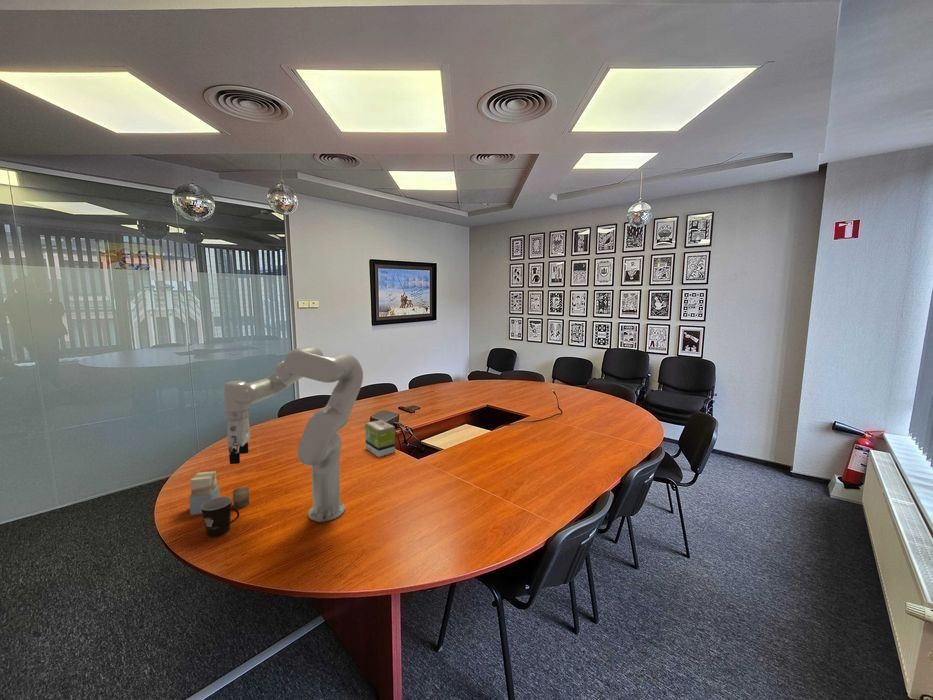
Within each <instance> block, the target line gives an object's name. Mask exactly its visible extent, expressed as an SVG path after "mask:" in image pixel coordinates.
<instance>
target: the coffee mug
mask: <svg viewBox="0 0 933 700" xmlns="http://www.w3.org/2000/svg"><path fill="white" fill-rule="evenodd" d="M232 505H233V498H232V497H229V496H220V497H218V498H214V499H211V500H208V501H206V502H205V503H203V504H202V505H201V510H202V514H201V515H202V518H203V522H204V527H205V532H206V536H207V537H208V538H217V537H220V536H224V535H225V534H227V533H228V532H229V531H230V529H231V524H233V522H236V521H237V520H238V519H239V517H240V512H239V509H237V508H234V507H232ZM232 511H234V512H236V517H235V518H233V520H231V517H232Z"/></svg>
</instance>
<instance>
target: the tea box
mask: <svg viewBox="0 0 933 700" xmlns="http://www.w3.org/2000/svg"><path fill="white" fill-rule="evenodd" d="M364 427H365V428H364V429H365V435H364V436H365V449H366V450H367V451H369V452H370V453H372V454H373V455H374V456H376V457H377V458H381V456H382V457H385V456H384V455H386V456H388V455H387V454H389V455H391V454H390V453H392V454H394V453H393V452H395V453H396V430H395V429H396V427H395V425H393V424H390V423H388V422H386V420H383V419H379V420H374V421H373V420H372V421H370V422H366V423H364Z"/></svg>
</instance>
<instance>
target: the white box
mask: <svg viewBox="0 0 933 700" xmlns="http://www.w3.org/2000/svg"><path fill="white" fill-rule="evenodd" d="M218 497H221V496H220V486H219V485H217V487H216V488H215V489H214V490H213V492H212V493H211V494H205V495H195V496H192V495H191V494H190V495H189V497H188V499H189V500H188V501H189V510H190V511H189V513H190V516H193V515H202V510H201V505H202V504H203V503H205V502H206V501H208V500H211V499H214V498H218Z"/></svg>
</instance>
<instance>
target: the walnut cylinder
mask: <svg viewBox="0 0 933 700" xmlns="http://www.w3.org/2000/svg"><path fill="white" fill-rule="evenodd" d="M232 505H233V508H235V509H237V510H239V509H243V508H247V507H248V506H249V505H250V490H249V487H248V486H240V487H239V486H238V487H237V488H235V489H233V491H232Z"/></svg>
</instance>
